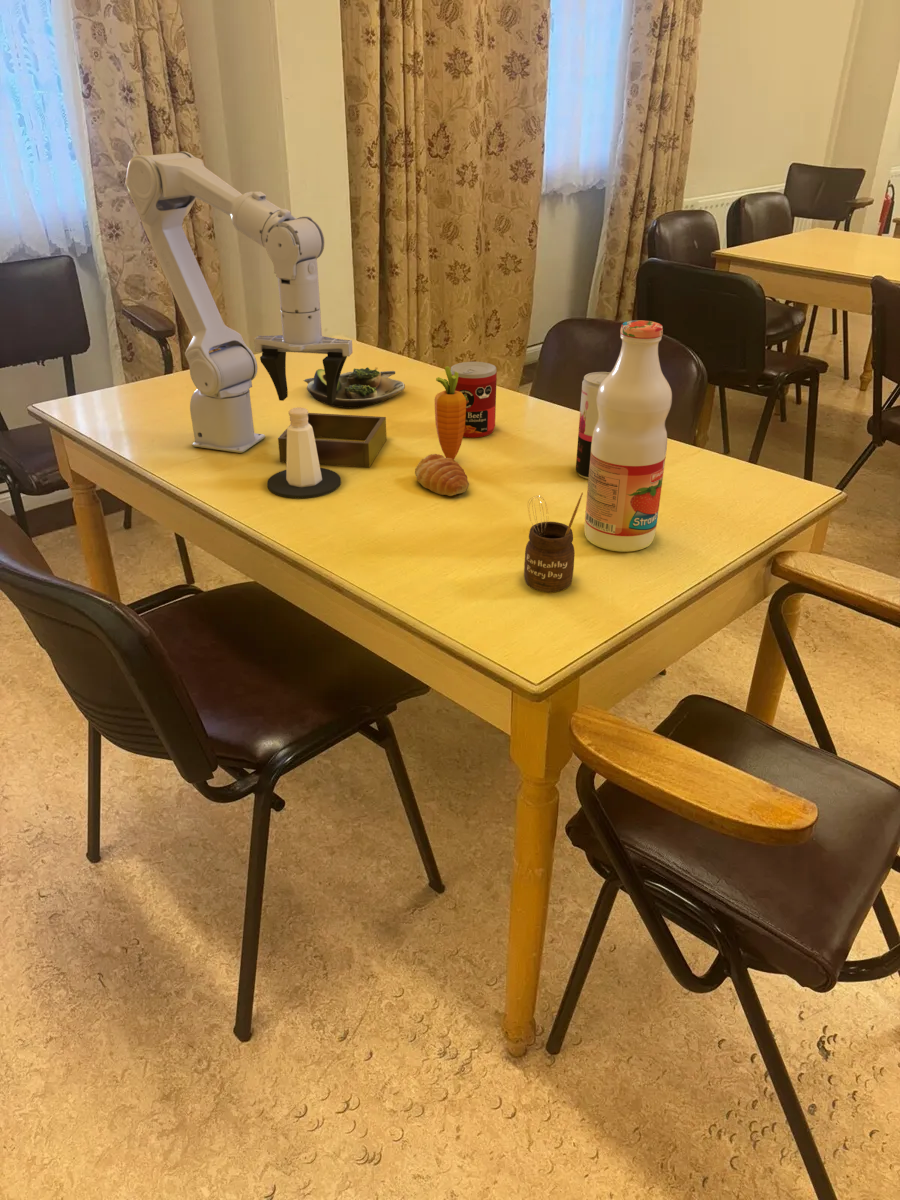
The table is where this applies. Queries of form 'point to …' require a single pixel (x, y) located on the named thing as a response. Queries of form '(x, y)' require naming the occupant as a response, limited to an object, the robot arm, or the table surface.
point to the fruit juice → (629, 444)
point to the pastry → (441, 475)
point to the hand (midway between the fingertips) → (307, 400)
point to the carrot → (450, 415)
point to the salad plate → (356, 387)
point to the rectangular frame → (343, 428)
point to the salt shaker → (301, 451)
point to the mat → (282, 487)
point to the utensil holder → (549, 554)
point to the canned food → (477, 396)
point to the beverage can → (588, 420)
